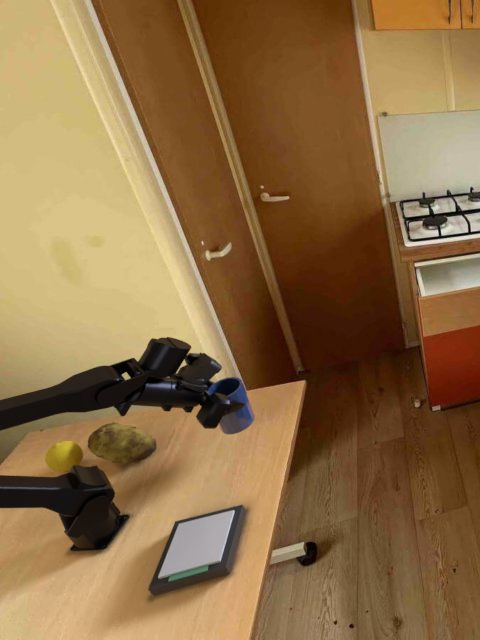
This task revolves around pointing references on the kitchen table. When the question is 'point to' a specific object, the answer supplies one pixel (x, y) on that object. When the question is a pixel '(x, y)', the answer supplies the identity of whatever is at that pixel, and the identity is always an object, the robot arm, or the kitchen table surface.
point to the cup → (236, 392)
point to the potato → (121, 443)
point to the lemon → (63, 456)
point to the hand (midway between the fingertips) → (236, 398)
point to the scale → (199, 550)
